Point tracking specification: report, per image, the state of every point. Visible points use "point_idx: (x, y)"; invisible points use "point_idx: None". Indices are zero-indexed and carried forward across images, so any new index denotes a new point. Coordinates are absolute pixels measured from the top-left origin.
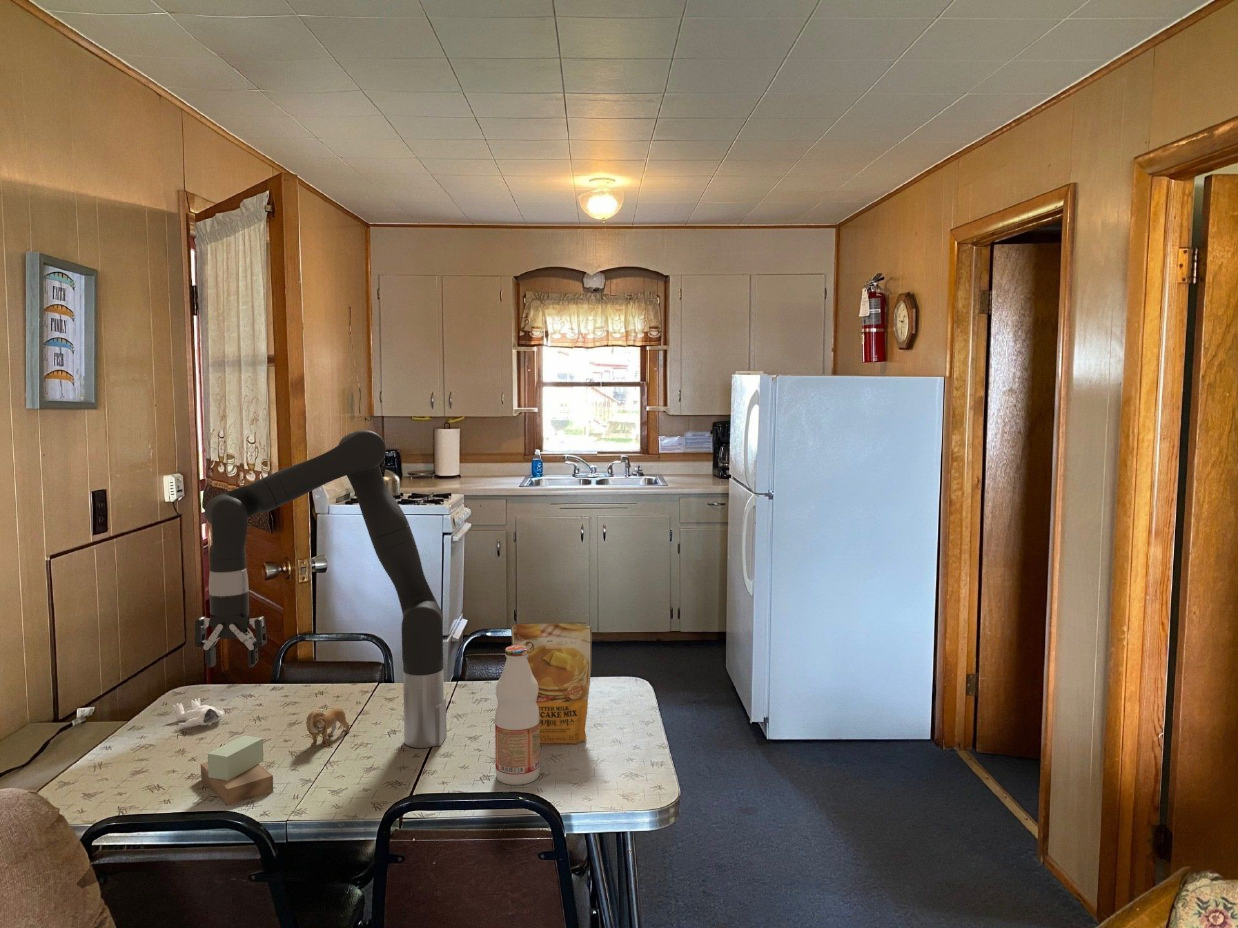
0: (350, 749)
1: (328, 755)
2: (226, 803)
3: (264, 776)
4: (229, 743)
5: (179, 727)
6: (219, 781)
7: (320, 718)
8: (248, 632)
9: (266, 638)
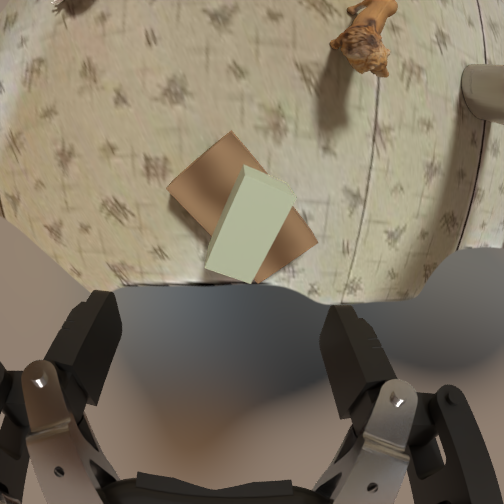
0: (400, 84)
1: (371, 100)
2: None
3: (305, 245)
4: (228, 221)
5: (58, 2)
6: None
7: (385, 66)
8: (376, 492)
9: (467, 411)
